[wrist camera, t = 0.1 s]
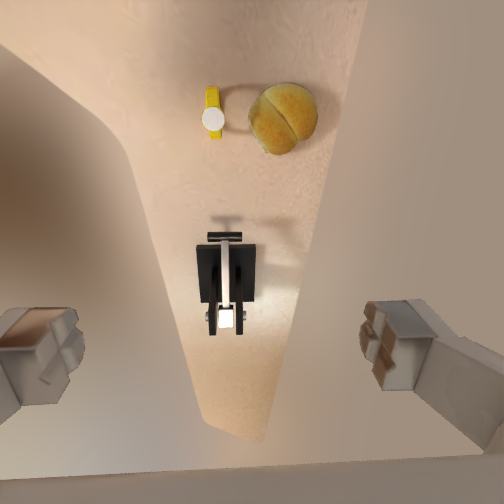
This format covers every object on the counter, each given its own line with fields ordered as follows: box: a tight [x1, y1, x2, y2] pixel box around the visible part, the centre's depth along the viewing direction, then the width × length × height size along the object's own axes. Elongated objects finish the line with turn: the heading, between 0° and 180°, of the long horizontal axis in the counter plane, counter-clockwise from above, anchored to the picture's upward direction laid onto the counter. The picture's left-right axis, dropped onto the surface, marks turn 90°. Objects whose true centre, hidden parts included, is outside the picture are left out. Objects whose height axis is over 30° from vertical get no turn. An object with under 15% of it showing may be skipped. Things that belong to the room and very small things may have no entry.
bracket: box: [196, 244, 256, 336], centre depth 50 cm, size 12×10×13 cm
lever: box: [207, 232, 242, 328], centre depth 46 cm, size 14×5×2 cm, turn 0°
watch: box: [201, 87, 225, 140], centre depth 39 cm, size 6×3×6 cm, turn 2°
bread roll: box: [248, 83, 318, 155], centre depth 40 cm, size 8×9×4 cm
